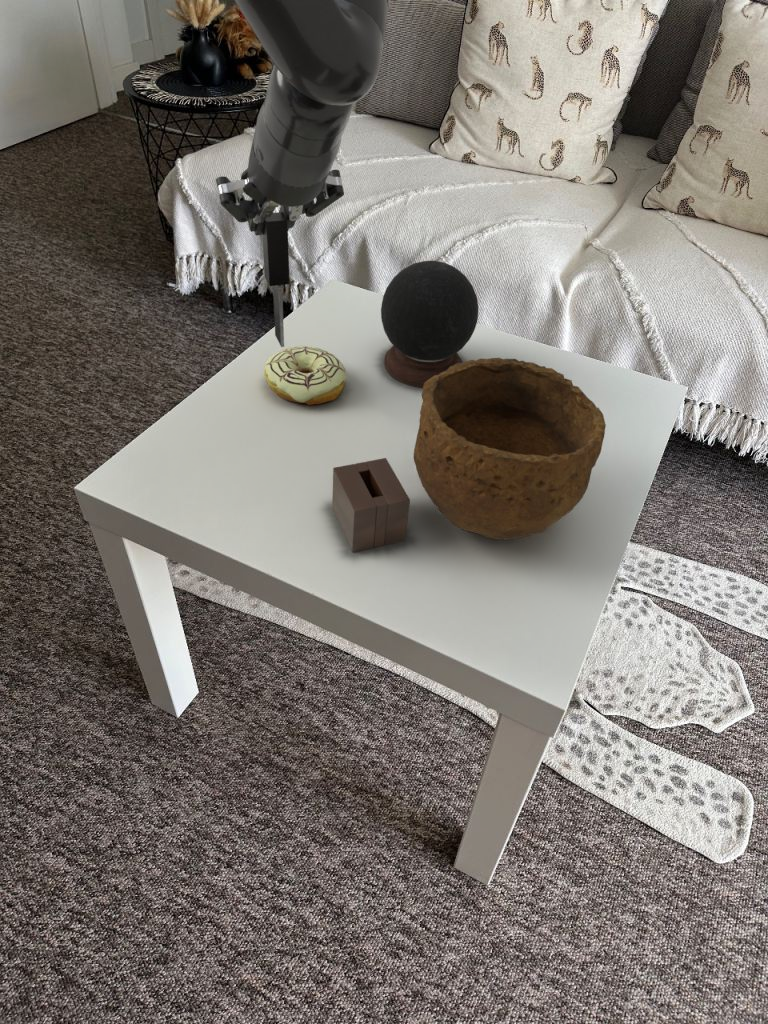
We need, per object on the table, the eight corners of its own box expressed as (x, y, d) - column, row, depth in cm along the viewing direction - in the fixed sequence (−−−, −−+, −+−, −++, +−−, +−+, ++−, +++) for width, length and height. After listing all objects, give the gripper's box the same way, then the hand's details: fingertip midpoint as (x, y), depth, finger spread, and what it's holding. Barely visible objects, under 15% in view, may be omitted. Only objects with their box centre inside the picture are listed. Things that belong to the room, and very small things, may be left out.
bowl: (450, 440, 89) (468, 334, 79) (593, 496, 83) (632, 389, 73) (375, 527, 77) (384, 416, 67) (536, 600, 71) (573, 490, 61)
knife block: (352, 552, 74) (354, 511, 70) (332, 508, 79) (333, 467, 75) (405, 540, 76) (410, 499, 72) (382, 498, 81) (386, 457, 76)
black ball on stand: (464, 344, 107) (480, 247, 96) (473, 394, 97) (491, 291, 87) (376, 339, 106) (383, 241, 96) (377, 389, 96) (384, 285, 86)
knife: (273, 348, 88) (267, 222, 77) (267, 336, 90) (260, 212, 79) (292, 345, 88) (288, 221, 78) (285, 333, 90) (281, 210, 80)
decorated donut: (304, 420, 90) (304, 395, 88) (249, 384, 95) (247, 360, 93) (360, 388, 96) (361, 364, 94) (306, 357, 101) (306, 333, 99)
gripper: (358, 102, 67) (320, 190, 84) (210, 107, 63) (201, 198, 79) (374, 181, 67) (333, 252, 84) (228, 190, 63) (215, 264, 80)
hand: (269, 225), depth 81 cm, fingers closed on knife, 2 cm apart
